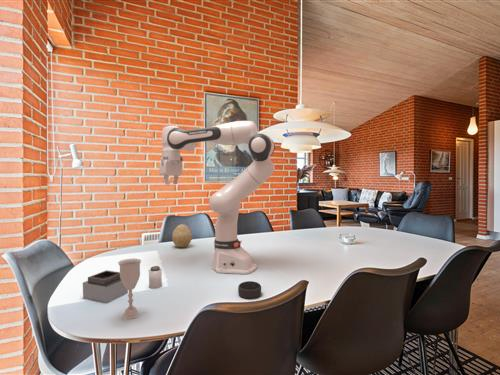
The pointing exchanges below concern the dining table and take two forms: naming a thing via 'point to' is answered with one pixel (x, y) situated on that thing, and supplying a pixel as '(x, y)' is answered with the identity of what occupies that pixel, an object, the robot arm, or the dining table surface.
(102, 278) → the motor block
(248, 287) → the smart speaker
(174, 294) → the dining table surface
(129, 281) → the chalice
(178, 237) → the fossilized egg
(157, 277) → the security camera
